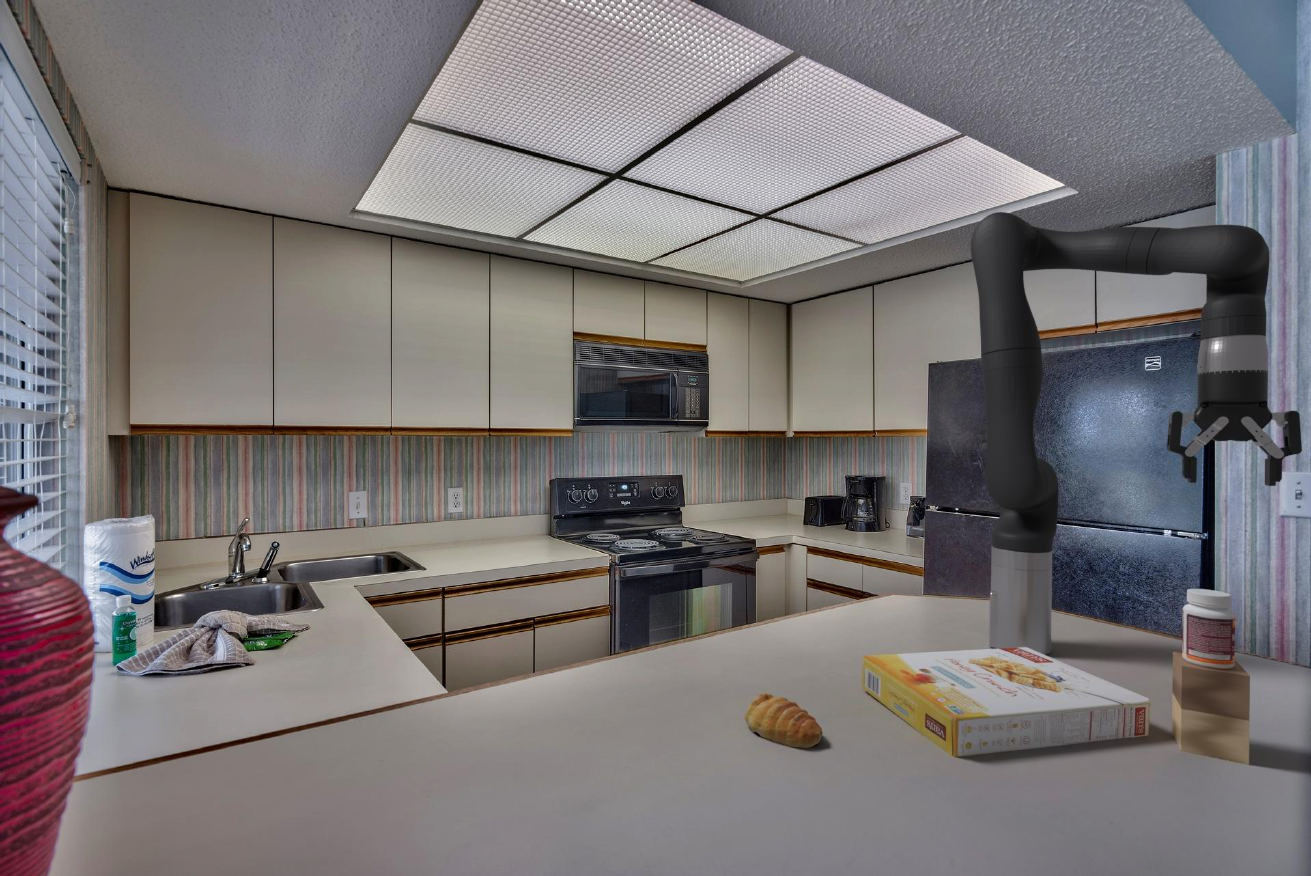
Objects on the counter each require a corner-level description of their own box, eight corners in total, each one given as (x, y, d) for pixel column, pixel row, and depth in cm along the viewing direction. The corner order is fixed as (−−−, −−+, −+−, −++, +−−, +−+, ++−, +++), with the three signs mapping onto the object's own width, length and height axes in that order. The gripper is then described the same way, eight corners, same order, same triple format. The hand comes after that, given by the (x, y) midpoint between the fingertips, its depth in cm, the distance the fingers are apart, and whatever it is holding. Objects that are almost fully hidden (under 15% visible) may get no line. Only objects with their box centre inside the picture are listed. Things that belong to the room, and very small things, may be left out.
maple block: (1180, 751, 76) (1181, 708, 76) (1172, 731, 81) (1172, 691, 81) (1248, 765, 73) (1249, 720, 73) (1235, 743, 78) (1235, 702, 78)
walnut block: (1181, 708, 76) (1181, 665, 76) (1172, 691, 81) (1173, 651, 81) (1249, 720, 73) (1250, 676, 73) (1235, 702, 78) (1236, 660, 78)
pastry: (834, 740, 78) (835, 708, 78) (800, 759, 74) (800, 725, 74) (772, 714, 85) (772, 685, 85) (738, 730, 81) (738, 699, 81)
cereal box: (859, 653, 93) (1024, 641, 100) (858, 692, 93) (1023, 677, 100) (957, 716, 73) (1154, 695, 80) (955, 764, 73) (1153, 740, 80)
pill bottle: (1244, 671, 74) (1246, 598, 74) (1196, 668, 75) (1198, 595, 75) (1218, 657, 79) (1219, 588, 79) (1173, 654, 80) (1174, 586, 80)
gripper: (1173, 370, 93) (1172, 483, 93) (1310, 365, 86) (1308, 488, 86) (1164, 374, 100) (1163, 480, 100) (1290, 370, 93) (1289, 485, 93)
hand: (1230, 484), depth 93 cm, fingers open, 8 cm apart
